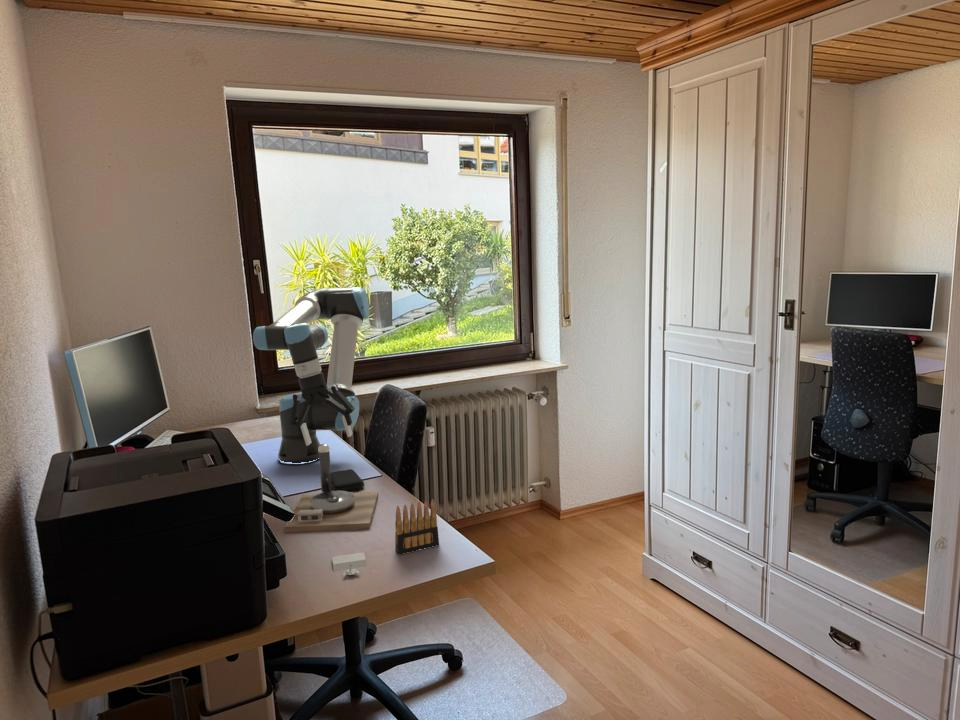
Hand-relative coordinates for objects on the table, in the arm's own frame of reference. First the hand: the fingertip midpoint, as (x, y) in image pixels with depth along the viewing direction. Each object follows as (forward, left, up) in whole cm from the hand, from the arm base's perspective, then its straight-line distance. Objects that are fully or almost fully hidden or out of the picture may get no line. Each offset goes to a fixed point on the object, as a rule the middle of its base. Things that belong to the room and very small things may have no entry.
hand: (329, 440), depth 200 cm
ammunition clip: (+46, +28, -15) cm, 56 cm away
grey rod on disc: (+20, +3, -13) cm, 24 cm away
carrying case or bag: (0, +3, -15) cm, 16 cm away
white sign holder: (+55, +13, -15) cm, 59 cm away
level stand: (+22, +4, -14) cm, 27 cm away
